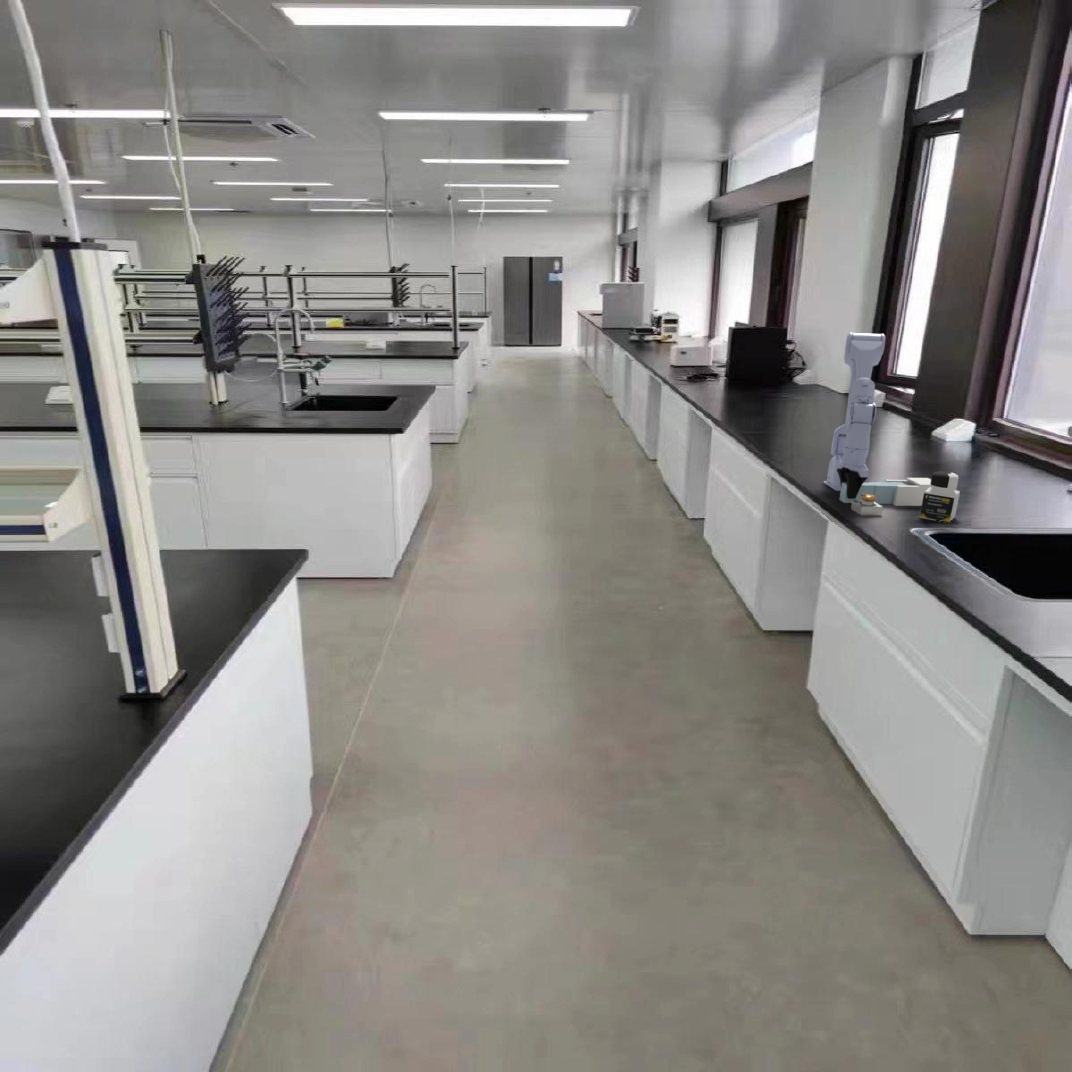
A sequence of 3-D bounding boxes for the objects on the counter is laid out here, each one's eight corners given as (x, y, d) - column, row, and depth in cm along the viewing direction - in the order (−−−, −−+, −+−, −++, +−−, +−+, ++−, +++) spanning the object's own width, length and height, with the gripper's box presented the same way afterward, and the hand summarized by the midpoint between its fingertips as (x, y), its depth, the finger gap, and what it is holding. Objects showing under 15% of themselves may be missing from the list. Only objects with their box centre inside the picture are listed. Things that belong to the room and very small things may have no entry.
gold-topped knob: (856, 508, 202) (858, 493, 201) (870, 508, 202) (872, 494, 201) (862, 512, 198) (864, 497, 197) (876, 512, 198) (879, 498, 197)
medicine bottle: (918, 518, 197) (927, 472, 193) (925, 512, 202) (933, 468, 198) (949, 523, 193) (958, 477, 189) (955, 517, 198) (964, 472, 194)
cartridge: (838, 499, 212) (841, 481, 210) (898, 499, 212) (901, 482, 211) (844, 503, 208) (847, 485, 206) (905, 503, 209) (908, 486, 207)
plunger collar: (850, 509, 203) (852, 500, 202) (871, 509, 203) (872, 500, 202) (860, 515, 198) (861, 506, 197) (881, 516, 198) (882, 506, 197)
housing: (881, 498, 214) (885, 477, 212) (923, 498, 215) (927, 477, 213) (894, 506, 207) (898, 484, 205) (937, 506, 208) (942, 484, 206)
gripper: (830, 442, 212) (823, 489, 216) (853, 453, 198) (845, 503, 202) (855, 442, 212) (847, 489, 216) (880, 453, 198) (871, 504, 203)
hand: (848, 496), depth 209 cm, fingers closed on cartridge, 3 cm apart
